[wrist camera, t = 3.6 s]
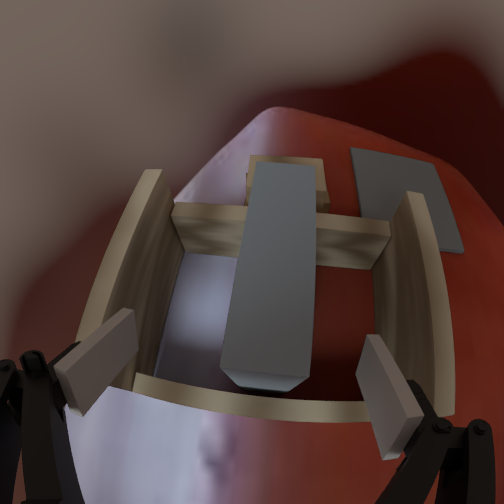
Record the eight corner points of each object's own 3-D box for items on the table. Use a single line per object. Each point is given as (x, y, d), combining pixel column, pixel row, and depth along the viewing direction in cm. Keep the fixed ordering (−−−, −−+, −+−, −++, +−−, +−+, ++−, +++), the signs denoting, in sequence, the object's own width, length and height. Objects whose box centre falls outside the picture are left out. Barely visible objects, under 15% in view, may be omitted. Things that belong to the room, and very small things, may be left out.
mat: (431, 166, 36) (433, 163, 35) (462, 253, 27) (464, 251, 27) (349, 150, 37) (350, 147, 37) (363, 241, 29) (364, 238, 28)
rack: (384, 258, 28) (423, 193, 19) (388, 418, 19) (454, 414, 11) (174, 238, 30) (145, 169, 21) (133, 390, 21) (67, 371, 13)
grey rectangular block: (295, 268, 27) (315, 166, 16) (284, 393, 21) (309, 376, 10) (259, 265, 28) (256, 161, 17) (241, 389, 22) (219, 366, 11)
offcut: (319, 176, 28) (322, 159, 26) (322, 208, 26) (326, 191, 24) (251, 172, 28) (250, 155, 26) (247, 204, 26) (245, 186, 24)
